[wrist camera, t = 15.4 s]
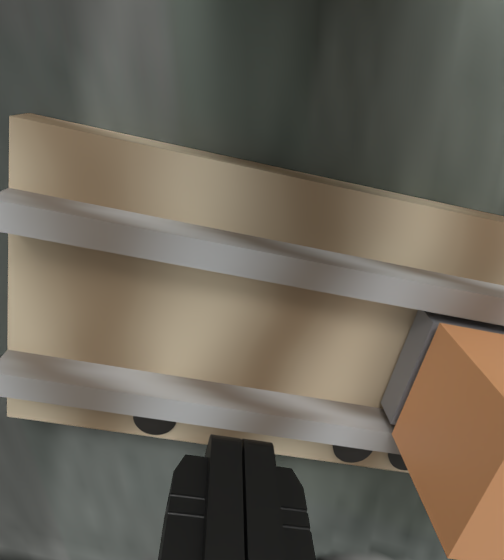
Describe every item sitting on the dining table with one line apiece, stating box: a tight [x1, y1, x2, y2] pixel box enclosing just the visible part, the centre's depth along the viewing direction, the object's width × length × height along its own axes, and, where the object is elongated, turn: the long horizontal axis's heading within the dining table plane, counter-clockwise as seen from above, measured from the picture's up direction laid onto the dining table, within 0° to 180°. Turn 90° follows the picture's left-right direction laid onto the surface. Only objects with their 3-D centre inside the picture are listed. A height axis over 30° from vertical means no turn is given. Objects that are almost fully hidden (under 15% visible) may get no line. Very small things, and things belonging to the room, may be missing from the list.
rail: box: [0, 113, 504, 473], centre depth 18 cm, size 32×12×3 cm, turn 78°
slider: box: [381, 310, 504, 560], centre depth 15 cm, size 5×5×7 cm
